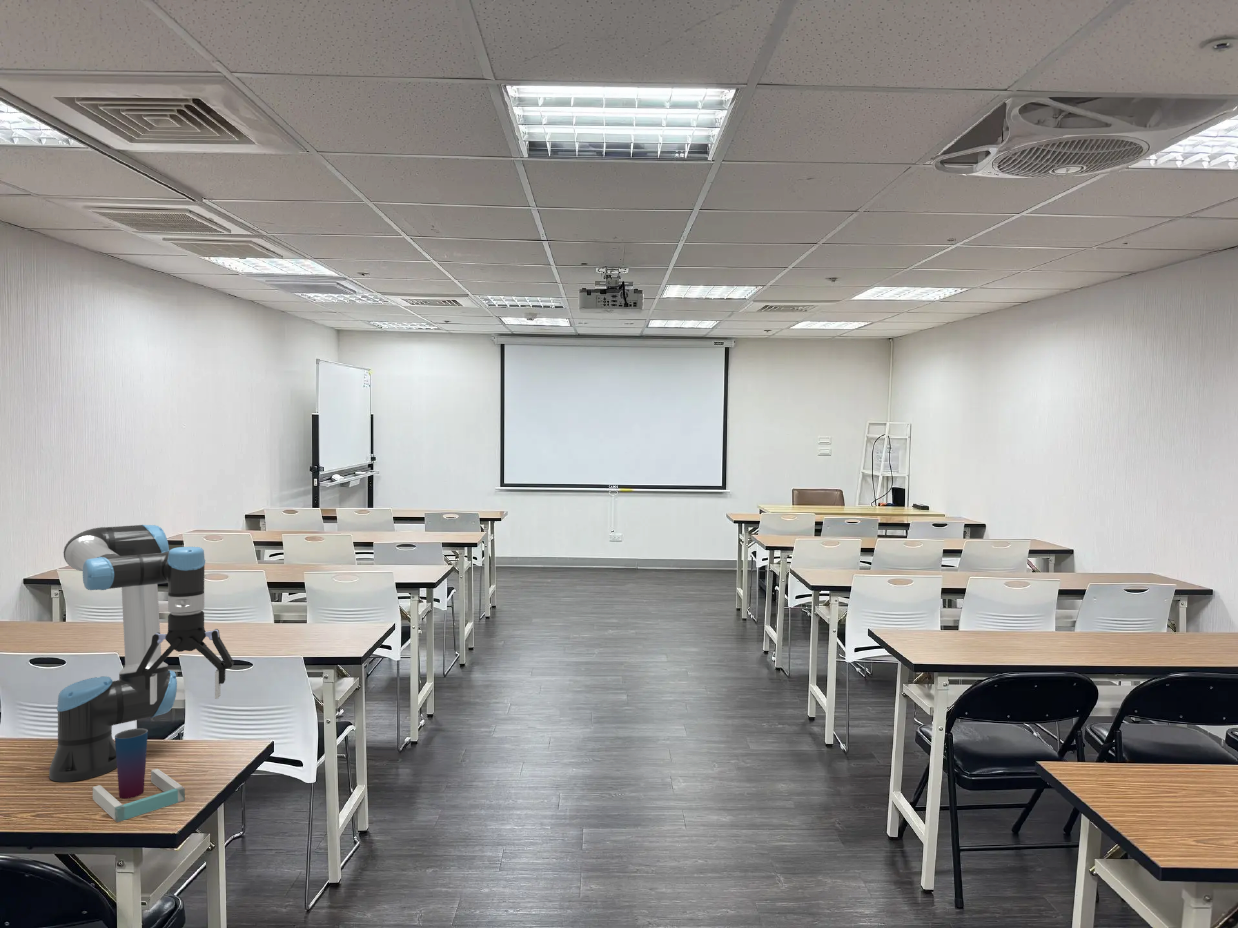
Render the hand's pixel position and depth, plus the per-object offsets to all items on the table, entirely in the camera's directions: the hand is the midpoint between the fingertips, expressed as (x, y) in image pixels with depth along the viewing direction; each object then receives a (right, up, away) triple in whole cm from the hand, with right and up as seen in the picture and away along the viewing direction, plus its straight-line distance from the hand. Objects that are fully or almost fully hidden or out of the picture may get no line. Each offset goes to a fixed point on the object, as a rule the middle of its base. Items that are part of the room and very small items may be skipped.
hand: (186, 699), depth 175 cm
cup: (-16, -25, +4) cm, 30 cm away
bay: (-12, -25, +1) cm, 27 cm away
